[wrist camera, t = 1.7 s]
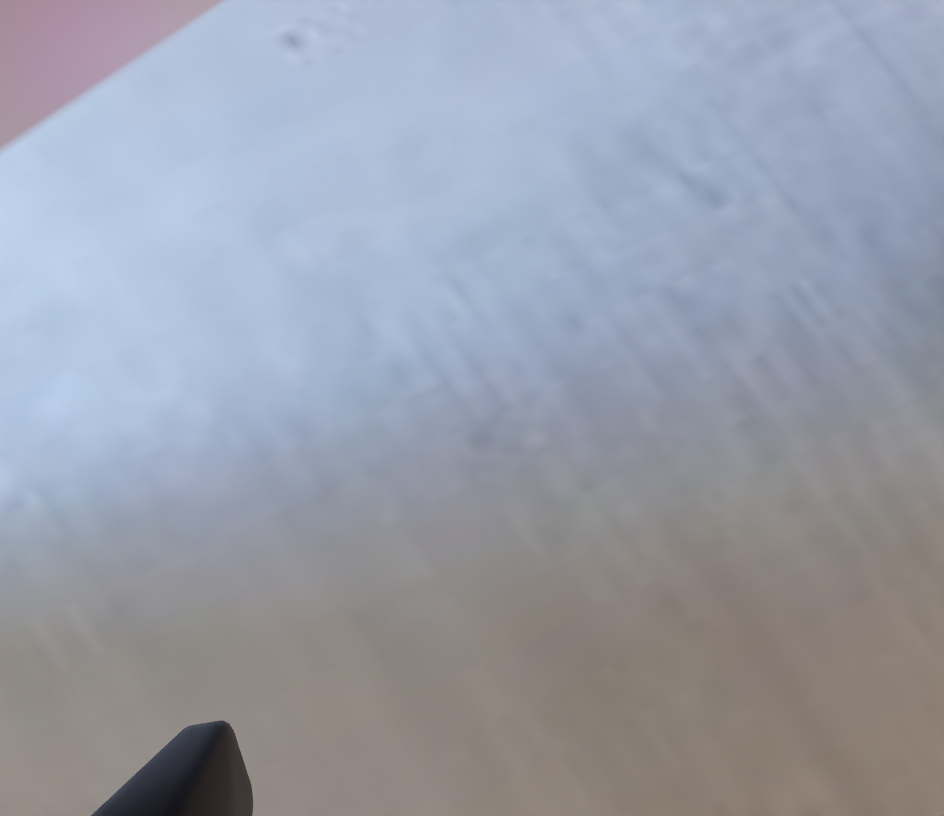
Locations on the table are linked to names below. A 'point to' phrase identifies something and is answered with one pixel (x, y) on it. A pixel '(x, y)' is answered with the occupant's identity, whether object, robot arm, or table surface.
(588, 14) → the table surface
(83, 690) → the table surface
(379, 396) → the table surface
